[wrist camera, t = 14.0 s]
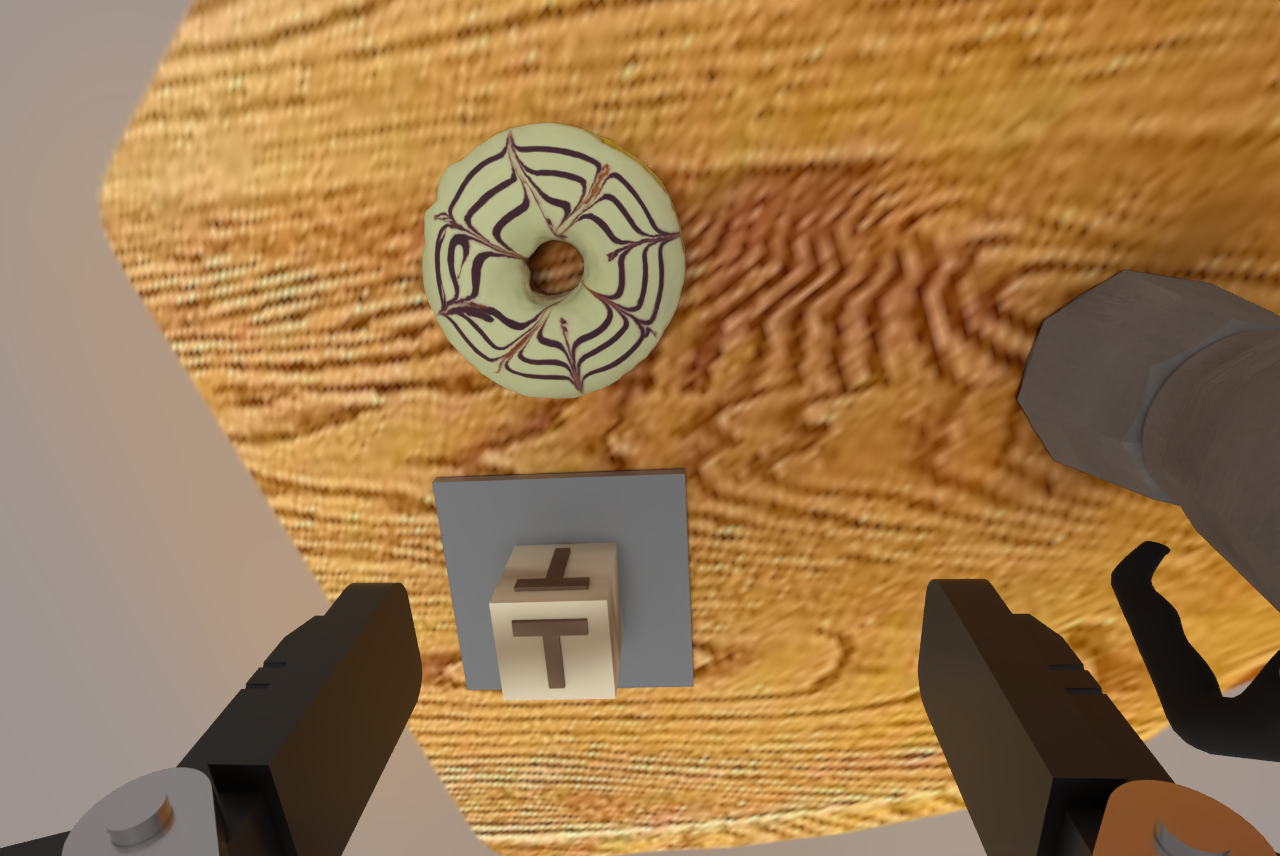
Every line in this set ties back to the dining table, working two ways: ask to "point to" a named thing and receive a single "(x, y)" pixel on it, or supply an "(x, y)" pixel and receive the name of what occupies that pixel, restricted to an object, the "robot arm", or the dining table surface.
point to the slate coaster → (574, 514)
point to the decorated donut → (532, 215)
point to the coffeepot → (1175, 463)
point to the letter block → (559, 622)
